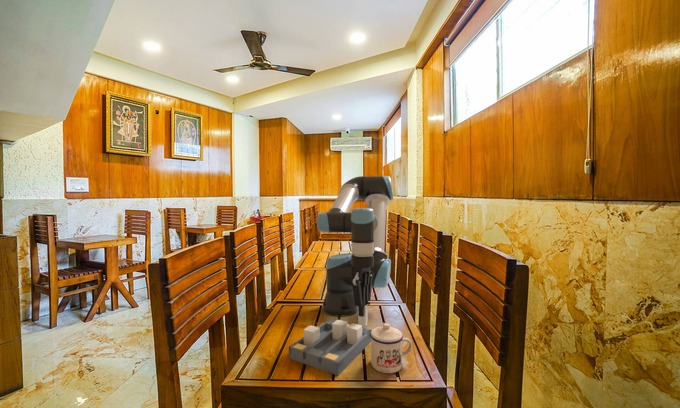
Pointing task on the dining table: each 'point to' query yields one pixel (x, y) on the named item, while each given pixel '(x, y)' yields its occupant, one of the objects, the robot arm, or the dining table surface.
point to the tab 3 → (354, 333)
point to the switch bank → (329, 350)
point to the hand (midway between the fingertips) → (362, 324)
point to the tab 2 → (339, 329)
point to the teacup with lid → (387, 349)
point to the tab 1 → (311, 335)
